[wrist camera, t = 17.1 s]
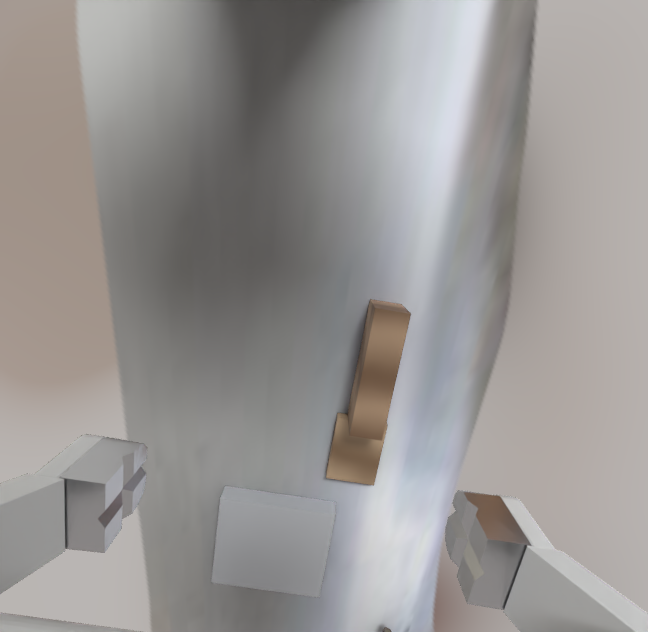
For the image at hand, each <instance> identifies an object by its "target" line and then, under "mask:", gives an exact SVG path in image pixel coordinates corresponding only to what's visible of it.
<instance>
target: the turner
mask: <svg viewBox="0 0 648 632" xmlns="http://www.w3.org/2000/svg"><path fill="white" fill-rule="evenodd" d="M410 315H411V313H410V312H409V311H408V310H407V309H406V308H405V307H404V306H403V305H402V304H396V303H390V302H384V301H378V300H372V299H370V302H369V307H368V312H367V317H366V322H365V327H364V332H363V337H362V342H361V347H360V353H359V358H358V363H357V368H356V373H355V378H354V383H353V388H352V393H351V398H350V403H349V408H348V413H347V414H344V413H337V418H336V424H335V429H334V434H333V439H332V444H331V450H330V455H329V460H328V465H327V471H326V478H330V479H336V480H343V481H349V482H356V483H362V484H369V485H374V482H375V478H376V473H377V469H378V465H379V460H380V456H381V452H382V447H383V443H384V438H385V434H386V430H387V422H386V421H387V417H388V412H389V408H390V403H391V399H392V395H393V390H394V386H395V381H396V377H397V373H398V368H399V364H400V359H401V355H402V351H403V346H404V342H405V337H406V333H407V329H408V324H409V320H410Z"/></svg>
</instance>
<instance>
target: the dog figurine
mask: <svg viewBox="0 0 648 632" xmlns="http://www.w3.org/2000/svg"><path fill="white" fill-rule="evenodd" d="M382 632H391V630H390V629H389V628H387V627H384V629H383V631H382Z"/></svg>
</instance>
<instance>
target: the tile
mask: <svg viewBox="0 0 648 632" xmlns="http://www.w3.org/2000/svg"><path fill="white" fill-rule="evenodd" d="M335 516H336V503H335V502H334V501H327V500H320V499H313V498H306V497H299V496H292V495H285V494H279V493H272V492H265V491H258V490H251V489H244V488H237V487H230V486H225V487H224V490H223V492H222V495H221V497H220V504H219V514H218V523H217V532H216V542H215V551H214V561H213V570H212V579H211V583H216V584H223V585H231V586H238V587H245V588H252V589H259V590H267V591H274V592H281V593H288V594H295V595H303V596H310V597H317V598H319V597H320V592H321V587H322V582H323V577H324V572H325V567H326V562H327V557H328V552H329V547H330V542H331V536H332V531H333V526H334V521H335Z"/></svg>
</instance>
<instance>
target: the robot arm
mask: <svg viewBox="0 0 648 632" xmlns="http://www.w3.org/2000/svg"><path fill="white" fill-rule="evenodd" d="M146 459H147V446H146V445H145V444H144V443H138V442H133V441H127V440H120V439H115V438H109V437H102V436H96V435H89V434H86V435H81V436H80V437H79V438H78V439H76V440H75V441H74V442H73V443H72V444H70V445H69V446H68V447H67V448H65V449H64V450H63V451H62V452H61V453H59V454H58V455H57V456H56V457H55V458H53V459H52V460H51V461H50V462H48V463H47V464H46V465H45V466H44V467H42V468H41V469H40V470H39V471H38V472H36V473H35V474H25V475H22V476H19V477H16V478H13V479H11V480H8V481H5V482H2V483H0V594H1V593H3V592H4V591H6V590H7V589H9V588H10V587H11V586H13V585H15V584H16V583H18V582H19V581H21V580H22V579H24V578H25V577H27V576H28V575H30V574H31V573H33V572H34V571H36V570H37V569H39V568H40V567H42V566H43V565H45V564H46V563H48V562H49V561H51V560H52V559H54V558H56V557H57V556H59V555H60V554H62V553H63V552H65V549H72V550H82V551H91V552H101V553H105V551H106V550H107V549H108V547H109V546H110V544H111V543H112V542H113V540H114V539H115V537H116V536H117V534H118V533H119V532H120V530H121V528H122V519H123V518H125V517H127V516H129V515H130V514H132V513H133V511H134V510H135V508H136V507H137V505H138V504H139V501H140V499H141V497H142V494H143V492H144V488H145V483H146V472H145V471H144V469H143V468H142V466H141V465H142V464H143V463H144V461H145V460H146ZM453 506H454V508H455V510H456V511H455V512H454V513H453V514H452V515H451V516H449V517H448V520H447V524H446V531H445V541H446V546H447V551H448V553H449V556H450V559H451V560H452V561H453V562H454V563H455V564H456V565H457V566H458V567H459V570H458V574H457V578H458V581H459V583H460V586H461V588H462V591H463V594H464V596H465V599H466V602H467V604H472V605H477V606H483V607H489V608H495V609H501V610H504V611H503V612H504V613H505V614H506V616H507V617H508V618H509V619H510V620H511V621H512V623H513V624H514V625H515V626H516V627H517V628H518V630H519V631H520V632H648V613H647V612H645V611H644V610H643V609H641V608H640V607H639V606H637V605H636V604H634V603H633V602H631V601H630V600H629V599H628V598H626V597H625V596H623V595H622V594H620V593H619V592H618V591H617V590H615V589H614V588H612V587H611V586H610V585H608V584H607V583H606V582H604V581H603V580H601V579H600V578H599V577H597V576H596V575H594V574H593V573H592V572H590V571H589V570H588V569H586V568H585V567H583V566H582V565H581V564H579V563H578V562H577V561H575V560H574V559H572V558H571V557H570V556H568V555H567V554H566V553H564V552H563V551H560V550H555V548H554V547H553V546H552V544H551V543H550V541H549V540H548V539H547V537H546V536H545V535H544V533H543V532H542V530H541V529H540V527H539V526H538V525H537V523H536V522H535V520H534V519H533V518H532V516H531V515H530V513H529V512H528V511H527V509H526V508H525V506H524V505H523V504H522V502H521V501H520V500H519V499H517V498H516V497H510V496H502V495H488V494H481V493H474V492H467V491H460V490H458V491H457V493H456V494H455V496H454V499H453ZM0 632H141V631H134V630H125V629H118V628H111V627H104V626H96V625H89V624H82V623H74V622H66V621H59V620H52V619H44V618H37V617H30V616H22V615H15V614H7V613H0Z"/></svg>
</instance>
